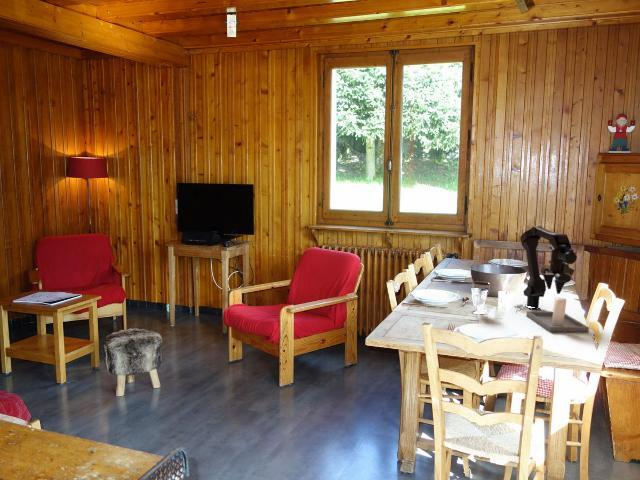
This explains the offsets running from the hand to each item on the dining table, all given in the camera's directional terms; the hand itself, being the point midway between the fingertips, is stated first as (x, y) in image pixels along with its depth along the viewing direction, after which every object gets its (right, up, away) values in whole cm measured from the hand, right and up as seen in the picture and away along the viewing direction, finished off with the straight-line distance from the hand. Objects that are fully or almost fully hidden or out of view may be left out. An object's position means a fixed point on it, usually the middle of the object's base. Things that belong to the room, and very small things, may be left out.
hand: (553, 291), depth 276 cm
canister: (-5, -15, -15) cm, 22 cm away
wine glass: (-35, -11, +5) cm, 37 cm away
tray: (-3, -15, -9) cm, 17 cm away
